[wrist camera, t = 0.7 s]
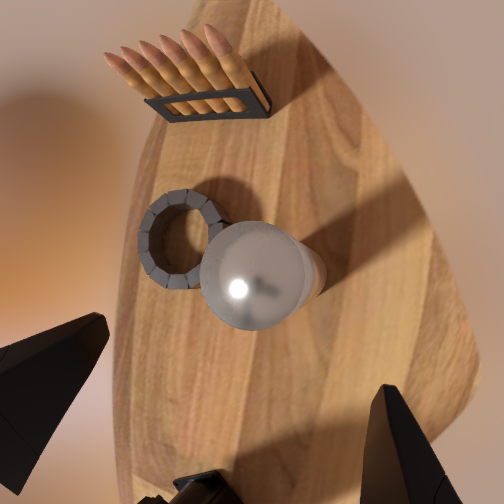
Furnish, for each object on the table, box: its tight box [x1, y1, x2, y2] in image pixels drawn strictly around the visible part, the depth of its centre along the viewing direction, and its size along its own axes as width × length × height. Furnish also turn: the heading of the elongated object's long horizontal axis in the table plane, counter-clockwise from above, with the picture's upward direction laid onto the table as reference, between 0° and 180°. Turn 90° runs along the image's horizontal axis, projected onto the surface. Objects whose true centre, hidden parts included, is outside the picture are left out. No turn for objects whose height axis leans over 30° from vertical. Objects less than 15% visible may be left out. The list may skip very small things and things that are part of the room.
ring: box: [138, 189, 233, 289], centre depth 26 cm, size 8×8×2 cm
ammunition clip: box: [104, 24, 272, 123], centre depth 22 cm, size 11×2×12 cm, turn 82°
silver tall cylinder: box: [200, 221, 327, 331], centre depth 18 cm, size 4×4×12 cm
